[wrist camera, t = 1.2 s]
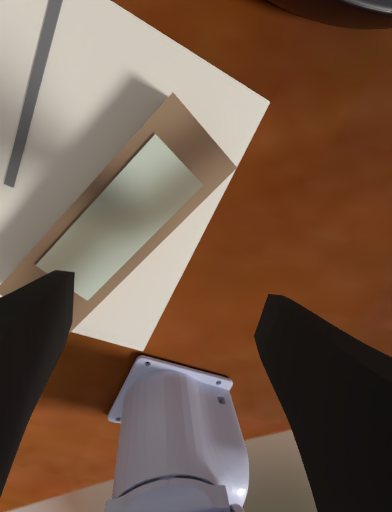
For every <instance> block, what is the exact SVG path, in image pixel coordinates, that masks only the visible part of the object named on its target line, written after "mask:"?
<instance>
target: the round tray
mask: <svg viewBox="0 0 392 512" xmlns="http://www.w3.org/2000/svg"><path fill="white" fill-rule="evenodd" d="M268 1H269V2H271V3H273V4H275V5H277V6H278V7H280V8H282V9H284V10H287V11H289V12H291V13H293V14H296V15H299V16H301V17H304V18H307V19H310V20H313V21H317V22H320V23H324V24H328V25H333V26H338V27H345V28H354V29H387V28H392V0H268Z"/></svg>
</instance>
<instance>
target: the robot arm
mask: <svg viewBox="0 0 392 512" xmlns="http://www.w3.org/2000/svg"><path fill="white" fill-rule="evenodd" d="M74 278H75V272H69V271H61V270H54V271H52V272H50V273H48V274H46V275H44V276H42V277H40V278H38V279H36V280H34V281H32V282H31V283H29V284H27V285H25V286H23V287H21V288H19V289H17V290H15V291H13V292H11V293H9V294H7V295H5V296H2V297H0V497H1V494H2V491H3V488H4V486H5V483H6V480H7V477H8V475H9V472H10V469H11V466H12V463H13V461H14V458H15V455H16V453H17V450H18V447H19V445H20V442H21V439H22V437H23V434H24V431H25V429H26V426H27V424H28V421H29V419H30V417H31V415H32V412H33V410H34V408H35V406H36V404H37V402H38V400H39V398H40V396H41V394H42V392H43V390H44V388H45V386H46V383H47V381H48V379H49V377H50V375H51V373H52V371H53V369H54V367H55V365H56V363H57V361H58V359H59V357H60V355H61V353H62V351H63V348H64V346H65V343H66V340H67V337H68V334H69V331H70V328H71V325H72V322H73V300H74ZM254 337H255V341H256V345H257V349H258V352H259V355H260V358H261V361H262V363H263V366H264V368H265V370H266V372H267V374H268V377H269V379H270V381H271V383H272V385H273V388H274V390H275V392H276V394H277V396H278V399H279V401H280V403H281V405H282V407H283V409H284V412H285V414H286V416H287V419H288V421H289V424H290V426H291V429H292V432H293V434H294V437H295V440H296V443H297V446H298V449H299V452H300V455H301V458H302V461H303V464H304V467H305V471H306V474H307V477H308V480H309V483H310V487H311V490H312V493H313V497H314V500H315V504H316V508H317V511H318V512H392V357H390V356H388V355H386V354H384V353H382V352H380V351H378V350H376V349H374V348H372V347H370V346H368V345H366V344H364V343H362V342H361V341H359V340H357V339H355V338H354V337H352V336H350V335H348V334H347V333H345V332H343V331H342V330H340V329H338V328H337V327H335V326H333V325H332V324H330V323H328V322H327V321H325V320H324V319H322V318H320V317H319V316H317V315H316V314H314V313H313V312H311V311H309V310H308V309H306V308H305V307H303V306H301V305H300V304H298V303H296V302H294V301H293V300H291V299H289V298H287V297H285V296H282V295H273V294H268V297H267V300H266V303H265V306H264V309H263V312H262V315H261V318H260V320H259V323H258V326H257V329H256V332H255V335H254ZM145 362H150V363H145ZM232 385H233V382H232V380H231V379H230V378H226V377H222V376H219V375H215V374H211V373H207V372H204V371H200V370H196V369H193V368H189V367H185V366H181V365H178V364H174V363H170V362H167V361H163V360H159V359H156V358H152V357H148V356H144V355H141V356H138V357H137V358H136V360H135V362H134V364H133V366H132V368H131V370H130V372H129V374H128V376H127V378H126V380H125V382H124V384H123V386H122V388H121V390H120V392H119V394H118V396H117V398H116V400H115V402H114V404H113V406H112V408H111V410H110V412H109V414H108V420H109V421H111V422H116V423H121V425H120V433H119V442H118V451H117V459H116V468H115V476H114V485H113V494H112V499H111V500H107V501H106V505H105V512H245V511H244V509H243V508H242V506H243V504H244V501H245V498H246V495H247V491H248V483H249V464H248V456H247V451H246V446H245V443H244V440H243V436H242V433H241V429H240V426H239V423H238V419H237V416H236V412H235V409H234V406H233V402H232V399H231V395H230V392H229V390H230V388H231V387H232Z"/></svg>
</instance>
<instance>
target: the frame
mask: <svg viewBox="0 0 392 512" xmlns="http://www.w3.org/2000/svg"><path fill="white" fill-rule="evenodd" d="M236 168H237V167H236V166H235V165H234V163H233V162H232V161H231V160H230V159H229V157H228V156H227V155H226V154H225V153H224V152H223V150H222V149H221V148H220V147H219V146H218V144H217V143H216V142H215V141H214V140H213V139H212V137H211V136H210V135H209V134H208V133H207V132H206V130H205V129H204V128H203V127H202V126H201V124H200V123H199V122H198V121H197V120H196V119H195V117H194V116H193V115H192V114H191V113H190V111H189V110H188V109H187V108H186V107H185V106H184V104H183V103H182V102H181V101H180V100H179V98H178V97H177V96H176V95H175V94H174V93H173V92H172V94H171V95H170V96H169V97H168V98H167V99H166V100H165V101H164V102H163V104H162V105H161V106H160V107H159V108H158V109H157V110H156V111H155V113H154V114H153V115H152V116H151V117H150V118H149V119H148V120H147V121H146V123H145V124H144V125H143V126H142V127H141V128H140V129H139V130H138V132H137V133H136V134H135V135H134V136H133V137H132V138H131V139H130V140H129V142H128V143H127V144H126V145H125V146H124V147H123V148H122V149H121V151H120V152H119V153H118V154H117V155H116V156H115V157H114V158H113V159H112V161H111V162H110V163H109V164H108V165H107V166H106V167H105V168H104V170H103V171H102V172H101V173H100V174H99V175H98V176H97V177H96V179H95V180H94V181H93V182H92V183H91V184H90V185H89V186H88V187H87V189H86V190H85V191H84V192H83V193H82V194H81V195H80V196H79V198H78V199H77V200H76V201H75V202H74V203H73V204H72V205H71V206H70V208H69V209H68V210H67V211H66V212H65V213H64V214H63V215H62V217H61V218H60V219H59V220H58V221H57V222H56V223H55V224H54V225H53V227H52V228H51V229H50V230H49V231H48V232H47V233H46V234H45V236H44V237H43V238H42V239H41V240H40V241H39V242H38V243H37V244H36V246H35V247H34V248H33V249H32V250H31V251H30V252H29V253H28V255H27V256H26V257H25V258H24V259H23V260H22V261H21V262H20V263H19V265H18V266H17V267H16V268H15V269H14V270H13V271H12V272H11V274H10V275H9V276H8V277H7V278H6V279H5V280H4V281H3V282H2V284H1V285H0V295H2V296H5V295H7V294H9V293H11V292H13V291H15V290H17V289H19V288H21V287H23V286H25V285H27V284H29V283H31V282H32V281H34V280H36V279H38V278H40V277H42V276H44V275H46V274H48V273H50V272H52V271H54V270H61V271H69V272H75V278H74V300H73V322H72V325H71V328H70V331H69V333H70V332H71V331H72V330H73V329H74V328H75V327H76V326H77V325H78V324H79V323H80V322H81V321H82V320H83V319H84V318H85V317H87V316H88V315H89V314H90V313H91V312H92V311H93V310H94V309H95V308H96V307H97V306H98V305H99V304H100V303H101V302H102V301H103V300H104V299H105V298H106V297H107V296H108V295H109V294H110V293H111V292H112V291H113V290H114V289H115V288H116V287H117V286H118V285H119V284H120V283H121V282H122V281H123V280H124V279H125V278H126V277H127V276H128V275H129V274H130V273H131V272H132V271H133V270H134V269H135V268H136V267H137V266H138V265H139V264H140V263H141V262H142V261H143V260H144V259H145V258H146V257H147V256H148V255H149V254H150V253H151V252H152V251H153V250H154V249H155V248H156V247H157V246H158V245H159V244H160V243H161V242H163V241H164V240H165V239H166V238H167V237H168V236H169V235H170V234H171V233H172V232H173V231H174V230H175V229H176V228H177V227H178V226H179V225H180V224H181V223H182V222H183V221H184V220H185V219H186V218H187V217H188V216H189V215H190V214H191V213H192V212H193V211H194V210H195V209H196V208H197V207H198V206H199V205H200V204H201V203H202V202H203V201H204V200H205V199H206V198H207V197H208V196H209V195H210V194H211V193H212V192H213V191H214V190H215V189H216V188H217V187H218V186H219V185H220V184H221V183H222V182H223V181H224V180H225V179H226V178H227V177H228V176H229V175H230V174H231V173H232V172H233V171H234V170H235V169H236Z"/></svg>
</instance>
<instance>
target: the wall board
mask: <svg viewBox="0 0 392 512" xmlns="http://www.w3.org/2000/svg"><path fill="white" fill-rule="evenodd" d="M172 92H173V93H174V94H175V95H176V96H177V97H178V98H179V100H180V101H181V102H182V103H183V104H184V106H185V107H186V108H187V109H188V110H189V111H190V113H191V114H192V115H193V116H194V117H195V119H196V120H197V121H198V122H199V123H200V124H201V126H202V127H203V128H204V129H205V130H206V132H207V133H208V134H209V135H210V136H211V137H212V139H213V140H214V141H215V142H216V143H217V144H218V146H219V147H220V148H221V149H222V150H223V152H224V153H225V154H226V155H227V156H228V157H229V159H230V160H231V161H232V162H233V163H234V165H235V166H236V167H237V166H238V164H239V162H240V160H241V158H242V156H243V154H244V152H245V150H246V149H247V147H248V145H249V143H250V141H251V139H252V137H253V135H254V133H255V131H256V129H257V127H258V125H259V123H260V121H261V119H262V117H263V115H264V113H265V111H266V109H267V107H268V105H269V103H270V102H269V101H268V100H266V99H265V98H263V97H262V96H260V95H258V94H257V93H255V92H254V91H252V90H251V89H249V88H247V87H246V86H244V85H243V84H241V83H240V82H238V81H236V80H235V79H233V78H232V77H230V76H229V75H227V74H225V73H224V72H222V71H221V70H219V69H218V68H216V67H214V66H213V65H211V64H210V63H208V62H207V61H205V60H203V59H202V58H200V57H199V56H197V55H196V54H194V53H192V52H191V51H189V50H188V49H186V48H185V47H183V46H181V45H180V44H178V43H177V42H175V41H174V40H172V39H170V38H169V37H167V36H166V35H164V34H163V33H161V32H159V31H158V30H156V29H155V28H153V27H152V26H150V25H148V24H147V23H145V22H144V21H142V20H140V19H139V18H137V17H136V16H134V15H133V14H131V13H129V12H128V11H126V10H125V9H123V8H122V7H120V6H118V5H117V4H115V3H114V2H112V1H111V0H0V285H1V284H2V282H3V281H4V280H5V279H6V278H7V277H8V276H9V275H10V274H11V272H12V271H13V270H14V269H15V268H16V267H17V266H18V265H19V263H20V262H21V261H22V260H23V259H24V258H25V257H26V256H27V255H28V253H29V252H30V251H31V250H32V249H33V248H34V247H35V246H36V244H37V243H38V242H39V241H40V240H41V239H42V238H43V237H44V236H45V234H46V233H47V232H48V231H49V230H50V229H51V228H52V227H53V225H54V224H55V223H56V222H57V221H58V220H59V219H60V218H61V217H62V215H63V214H64V213H65V212H66V211H67V210H68V209H69V208H70V206H71V205H72V204H73V203H74V202H75V201H76V200H77V199H78V198H79V196H80V195H81V194H82V193H83V192H84V191H85V190H86V189H87V187H88V186H89V185H90V184H91V183H92V182H93V181H94V180H95V179H96V177H97V176H98V175H99V174H100V173H101V172H102V171H103V170H104V168H105V167H106V166H107V165H108V164H109V163H110V162H111V161H112V159H113V158H114V157H115V156H116V155H117V154H118V153H119V152H120V151H121V149H122V148H123V147H124V146H125V145H126V144H127V143H128V142H129V140H130V139H131V138H132V137H133V136H134V135H135V134H136V133H137V132H138V130H139V129H140V128H141V127H142V126H143V125H144V124H145V123H146V121H147V120H148V119H149V118H150V117H151V116H152V115H153V114H154V113H155V111H156V110H157V109H158V108H159V107H160V106H161V105H162V104H163V102H164V101H165V100H166V99H167V98H168V97H169V96H170V95H171V94H172ZM235 170H236V169H235ZM235 170H234V171H233V172H232V173H231V174H230V175H229V176H228V177H227V178H226V179H225V180H224V181H223V182H222V183H221V184H220V185H219V186H218V187H217V188H216V189H215V190H214V191H213V192H212V193H211V194H210V195H209V196H208V197H207V198H206V199H205V200H204V201H203V202H202V203H201V204H200V205H199V206H198V207H197V208H196V209H195V210H194V211H193V212H192V213H191V214H190V215H189V216H188V217H187V218H186V219H185V220H184V221H183V222H182V223H181V224H180V225H179V226H178V227H177V228H176V229H175V230H174V231H173V232H172V233H171V234H170V235H169V236H168V237H167V238H166V239H165V240H164V241H163V242H161V243H160V244H159V245H158V246H157V247H156V248H155V249H154V250H153V251H152V252H151V253H150V254H149V255H148V256H147V257H146V258H145V259H144V260H143V261H142V262H141V263H140V264H139V265H138V266H137V267H136V268H135V269H134V270H133V271H132V272H131V273H130V274H129V275H128V276H127V277H126V278H125V279H124V280H123V281H122V282H121V283H120V284H119V285H118V286H117V287H116V288H115V289H114V290H113V291H112V292H111V293H110V294H109V295H108V296H107V297H106V298H105V299H104V300H103V301H102V302H101V303H100V304H99V305H98V306H97V307H96V308H95V309H94V310H93V311H92V312H91V313H90V314H89V315H88V316H87V317H85V318H84V319H83V320H82V321H81V322H80V323H79V324H78V325H77V326H76V327H75V328H74V329H73V330H72V331H71V332H74V333H77V334H81V335H85V336H88V337H92V338H96V339H99V340H103V341H107V342H110V343H114V344H118V345H121V346H125V347H129V348H132V349H136V350H140V351H143V350H144V348H145V346H146V344H147V342H148V340H149V338H150V337H151V335H152V333H153V331H154V329H155V327H156V325H157V323H158V321H159V319H160V317H161V315H162V313H163V311H164V309H165V307H166V305H167V303H168V301H169V299H170V297H171V295H172V293H173V291H174V290H175V288H176V286H177V284H178V282H179V280H180V278H181V276H182V274H183V272H184V270H185V268H186V266H187V264H188V262H189V260H190V258H191V256H192V254H193V252H194V250H195V248H196V246H197V244H198V243H199V241H200V239H201V237H202V235H203V233H204V231H205V229H206V227H207V225H208V223H209V221H210V219H211V217H212V215H213V213H214V211H215V209H216V207H217V205H218V203H219V201H220V199H221V197H222V196H223V194H224V192H225V190H226V188H227V186H228V184H229V182H230V180H231V178H232V176H233V174H234V172H235ZM0 297H2V295H0Z"/></svg>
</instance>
